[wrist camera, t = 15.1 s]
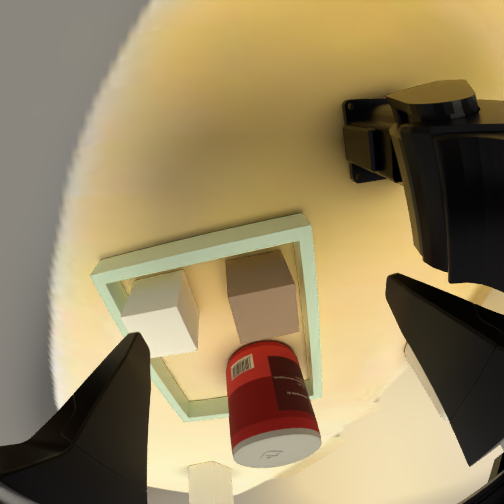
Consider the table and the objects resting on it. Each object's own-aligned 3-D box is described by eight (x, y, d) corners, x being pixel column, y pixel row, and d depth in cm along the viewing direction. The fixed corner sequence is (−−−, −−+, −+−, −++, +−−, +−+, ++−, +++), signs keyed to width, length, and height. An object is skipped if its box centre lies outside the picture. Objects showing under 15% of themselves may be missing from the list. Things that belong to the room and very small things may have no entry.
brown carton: (280, 249, 23) (295, 283, 19) (285, 293, 25) (299, 331, 21) (225, 260, 23) (227, 297, 19) (236, 304, 25) (240, 343, 21)
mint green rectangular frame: (301, 212, 22) (311, 225, 20) (316, 381, 32) (322, 397, 30) (100, 260, 22) (90, 275, 20) (184, 406, 32) (183, 422, 30)
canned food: (222, 384, 30) (228, 470, 21) (229, 337, 27) (238, 437, 17) (286, 384, 32) (306, 464, 22) (304, 338, 28) (335, 429, 19)
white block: (183, 269, 23) (176, 306, 19) (199, 310, 25) (197, 350, 21) (135, 280, 23) (120, 317, 19) (154, 319, 25) (145, 358, 21)
